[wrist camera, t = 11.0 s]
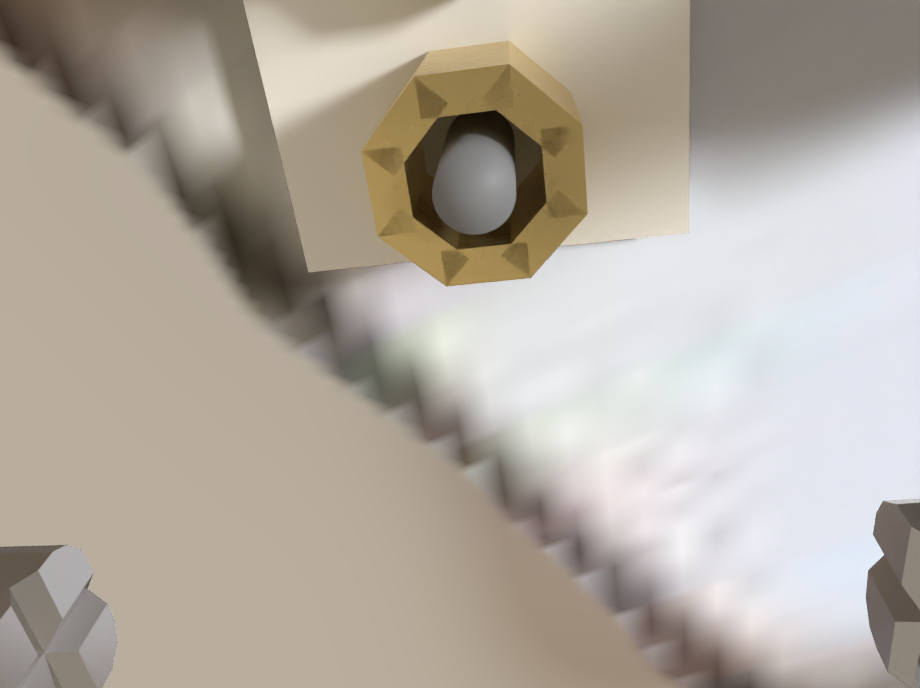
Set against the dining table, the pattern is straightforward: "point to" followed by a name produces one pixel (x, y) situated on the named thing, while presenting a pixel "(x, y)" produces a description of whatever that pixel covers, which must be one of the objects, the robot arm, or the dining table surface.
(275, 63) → the gear board
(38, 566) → the robot arm
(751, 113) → the dining table surface
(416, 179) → the brass gear
